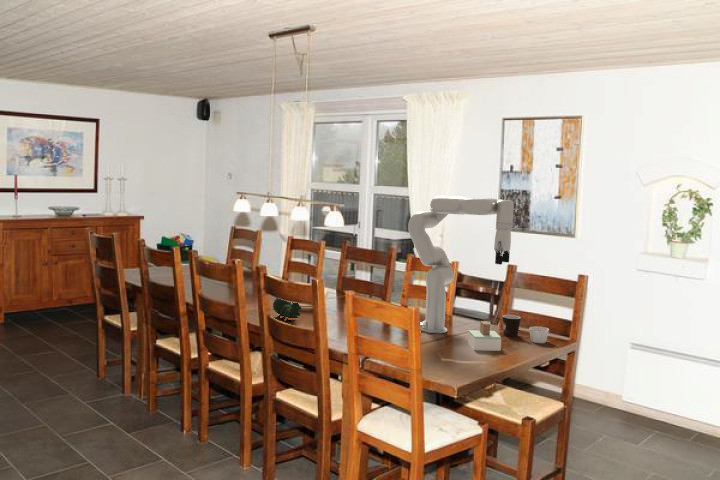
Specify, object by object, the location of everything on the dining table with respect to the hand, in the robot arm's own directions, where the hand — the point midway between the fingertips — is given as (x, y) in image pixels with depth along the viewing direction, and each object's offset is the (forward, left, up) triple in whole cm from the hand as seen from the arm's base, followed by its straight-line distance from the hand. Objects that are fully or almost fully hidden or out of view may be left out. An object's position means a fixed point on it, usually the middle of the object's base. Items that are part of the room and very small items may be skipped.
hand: (502, 263), depth 317 cm
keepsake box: (-10, -14, -37) cm, 41 cm away
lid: (-10, -14, -31) cm, 36 cm away
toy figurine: (-101, +35, -38) cm, 114 cm away
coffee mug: (+9, +11, -37) cm, 40 cm away
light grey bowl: (+20, +2, -38) cm, 43 cm away
